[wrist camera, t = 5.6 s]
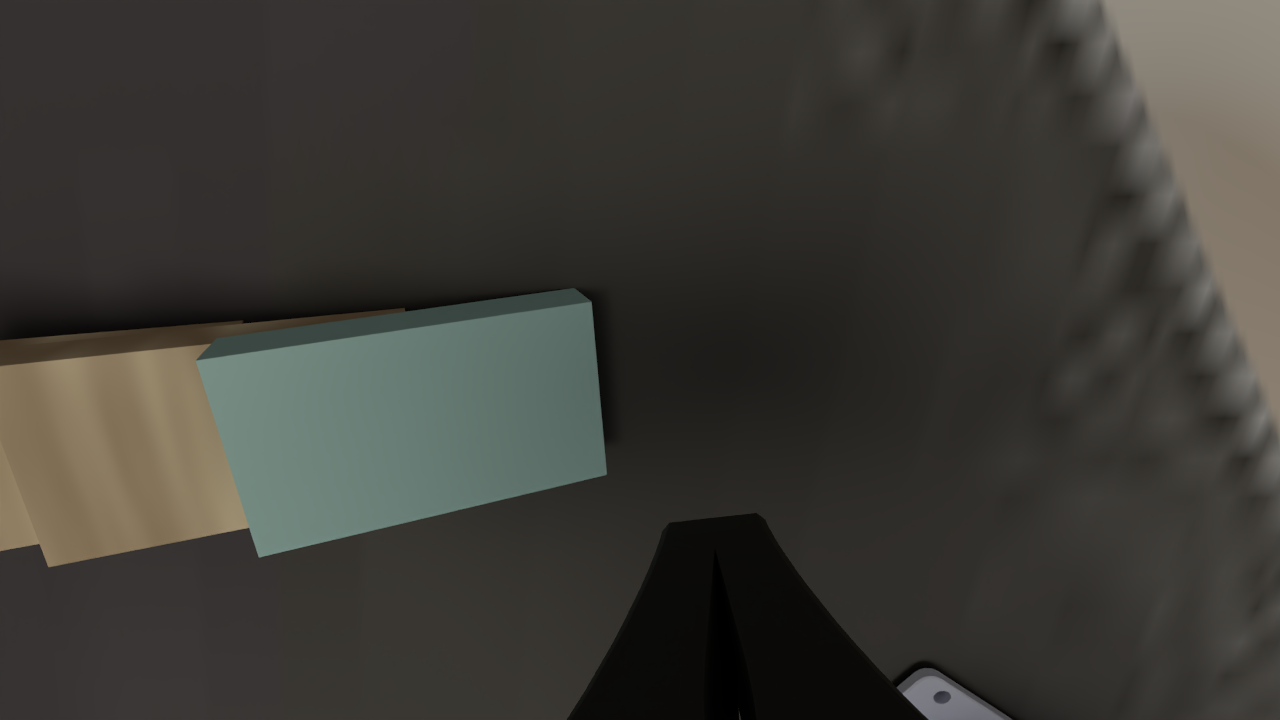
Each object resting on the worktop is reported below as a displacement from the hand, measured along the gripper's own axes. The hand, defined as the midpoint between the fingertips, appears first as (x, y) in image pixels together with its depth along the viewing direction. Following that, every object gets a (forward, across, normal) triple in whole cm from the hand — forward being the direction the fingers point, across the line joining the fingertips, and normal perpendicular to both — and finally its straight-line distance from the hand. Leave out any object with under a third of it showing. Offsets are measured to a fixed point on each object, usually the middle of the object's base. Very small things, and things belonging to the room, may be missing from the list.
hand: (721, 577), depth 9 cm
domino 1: (+8, +7, 0) cm, 11 cm away
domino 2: (+8, +3, 0) cm, 8 cm away
